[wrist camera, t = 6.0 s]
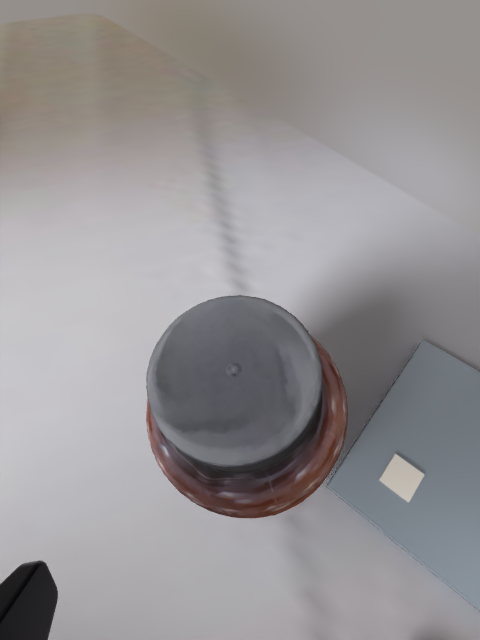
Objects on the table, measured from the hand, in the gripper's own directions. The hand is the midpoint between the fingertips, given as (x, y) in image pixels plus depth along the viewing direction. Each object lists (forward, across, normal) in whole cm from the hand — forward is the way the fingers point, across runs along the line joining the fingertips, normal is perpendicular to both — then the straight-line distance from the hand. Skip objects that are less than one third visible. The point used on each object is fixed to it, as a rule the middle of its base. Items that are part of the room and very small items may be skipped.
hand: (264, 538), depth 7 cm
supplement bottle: (+10, 0, +5) cm, 11 cm away
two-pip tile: (+8, -9, +7) cm, 14 cm away
